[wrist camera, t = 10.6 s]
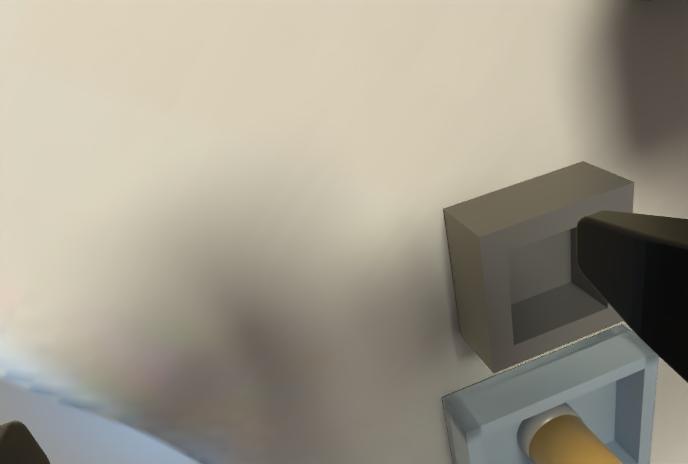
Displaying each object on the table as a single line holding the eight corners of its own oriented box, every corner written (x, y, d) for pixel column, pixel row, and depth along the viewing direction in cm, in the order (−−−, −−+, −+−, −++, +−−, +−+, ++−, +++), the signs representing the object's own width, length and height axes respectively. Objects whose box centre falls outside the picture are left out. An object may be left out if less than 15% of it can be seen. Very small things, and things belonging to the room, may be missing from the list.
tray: (622, 324, 29) (658, 351, 27) (617, 436, 34) (649, 467, 31) (442, 397, 28) (465, 432, 25) (460, 506, 32) (482, 544, 30)
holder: (583, 161, 24) (633, 182, 22) (583, 287, 27) (627, 319, 25) (443, 208, 23) (479, 237, 20) (461, 334, 26) (493, 373, 24)
